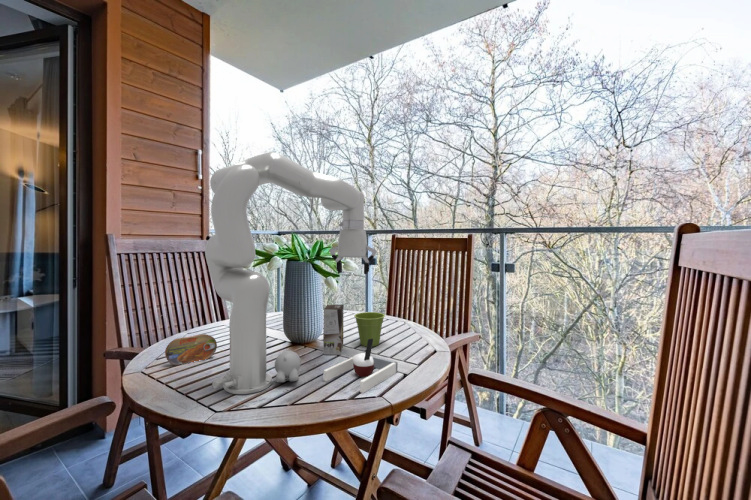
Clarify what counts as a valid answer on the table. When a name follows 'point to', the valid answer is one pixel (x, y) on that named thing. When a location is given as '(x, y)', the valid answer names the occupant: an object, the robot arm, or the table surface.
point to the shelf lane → (386, 371)
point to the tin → (190, 349)
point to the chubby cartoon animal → (287, 366)
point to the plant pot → (369, 326)
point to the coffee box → (333, 330)
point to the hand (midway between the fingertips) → (352, 273)
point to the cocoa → (364, 362)
